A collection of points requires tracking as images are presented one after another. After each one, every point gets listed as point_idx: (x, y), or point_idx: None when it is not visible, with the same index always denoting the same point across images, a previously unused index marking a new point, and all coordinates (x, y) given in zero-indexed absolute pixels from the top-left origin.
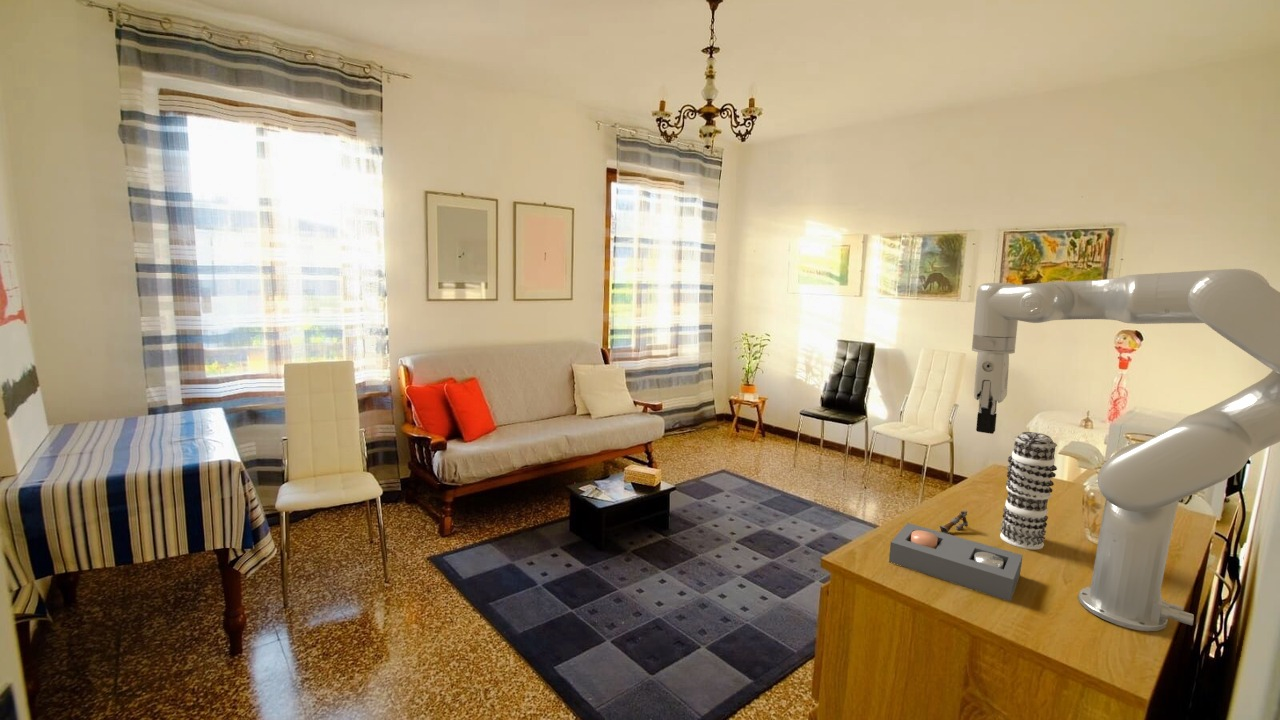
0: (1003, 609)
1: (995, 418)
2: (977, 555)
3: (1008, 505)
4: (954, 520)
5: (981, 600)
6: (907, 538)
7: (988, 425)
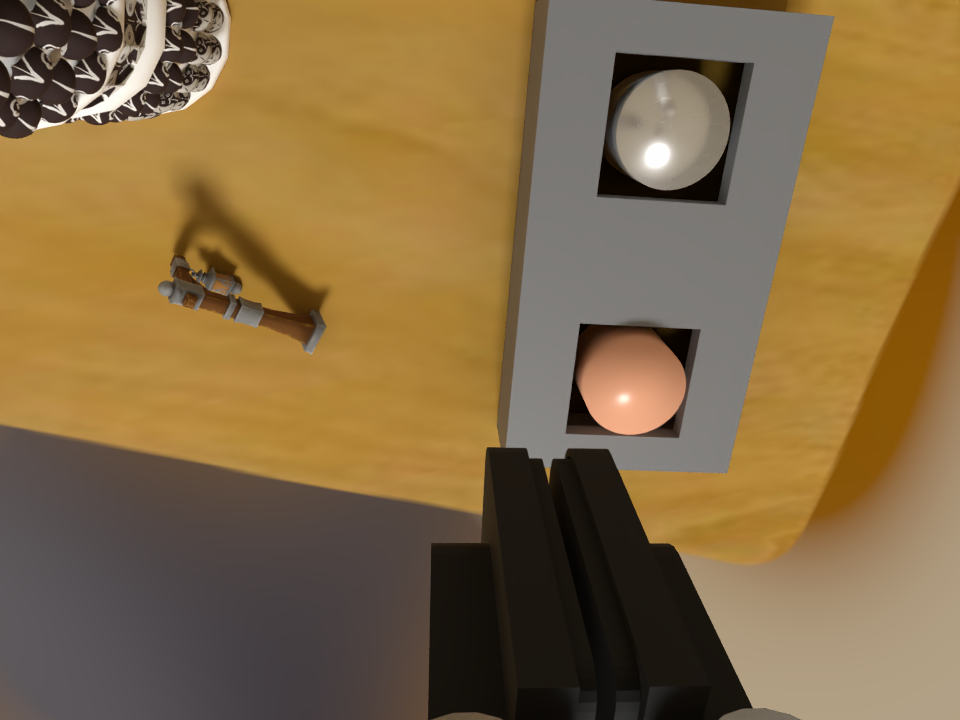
0: (853, 43)
1: (636, 613)
2: (671, 177)
3: (118, 99)
4: (250, 314)
5: (822, 122)
6: (641, 433)
7: (683, 590)
